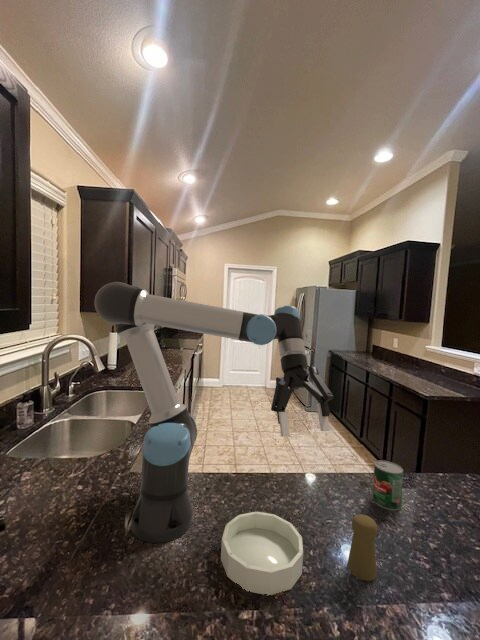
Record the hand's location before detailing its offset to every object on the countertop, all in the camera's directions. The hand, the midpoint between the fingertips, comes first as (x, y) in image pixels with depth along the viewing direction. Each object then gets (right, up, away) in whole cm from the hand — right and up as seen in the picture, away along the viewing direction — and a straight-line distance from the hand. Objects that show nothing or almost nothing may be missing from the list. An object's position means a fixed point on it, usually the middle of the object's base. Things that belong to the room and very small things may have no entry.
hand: (304, 434), depth 78 cm
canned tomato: (+28, -26, +13) cm, 40 cm away
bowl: (-12, -23, -11) cm, 29 cm away
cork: (+10, -25, -13) cm, 30 cm away
